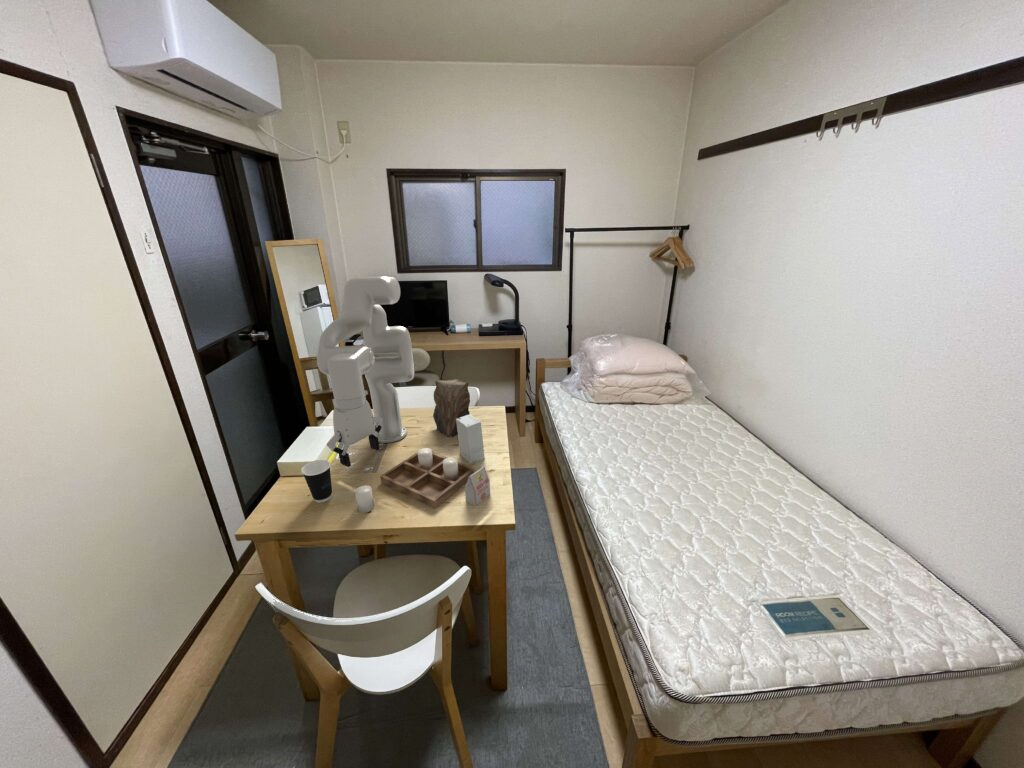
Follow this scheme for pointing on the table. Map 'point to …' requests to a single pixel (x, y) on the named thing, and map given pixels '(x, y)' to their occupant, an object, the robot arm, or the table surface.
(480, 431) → the skincare box
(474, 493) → the milk carton
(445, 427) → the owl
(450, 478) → the egg right
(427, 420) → the table surface
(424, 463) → the egg left
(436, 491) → the rack
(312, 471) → the dixie cup
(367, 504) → the egg
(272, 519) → the table surface
